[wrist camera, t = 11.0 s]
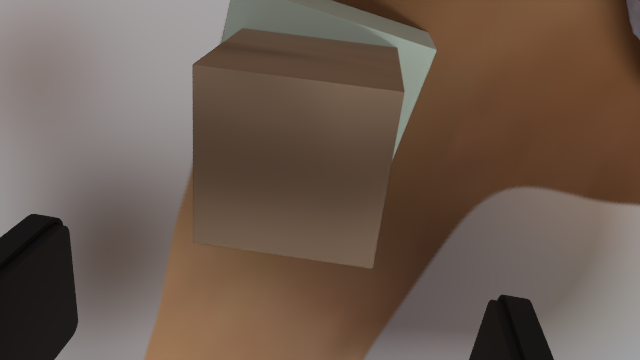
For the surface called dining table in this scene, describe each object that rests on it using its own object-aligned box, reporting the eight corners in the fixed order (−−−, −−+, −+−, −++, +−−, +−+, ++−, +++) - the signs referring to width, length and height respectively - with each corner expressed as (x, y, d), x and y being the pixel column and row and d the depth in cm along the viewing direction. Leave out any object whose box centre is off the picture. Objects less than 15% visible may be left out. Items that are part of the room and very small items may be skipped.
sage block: (369, 182, 27) (367, 221, 23) (220, 135, 26) (195, 167, 23) (427, 31, 23) (436, 49, 20) (256, -26, 23) (234, -18, 19)
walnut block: (373, 187, 22) (372, 268, 17) (237, 168, 23) (193, 242, 17) (397, 47, 20) (404, 92, 14) (242, 28, 20) (192, 64, 15)
